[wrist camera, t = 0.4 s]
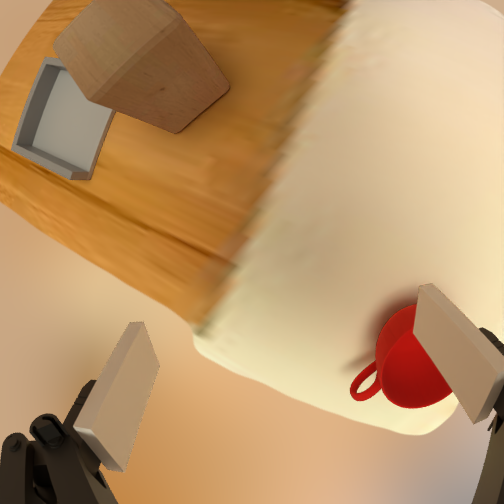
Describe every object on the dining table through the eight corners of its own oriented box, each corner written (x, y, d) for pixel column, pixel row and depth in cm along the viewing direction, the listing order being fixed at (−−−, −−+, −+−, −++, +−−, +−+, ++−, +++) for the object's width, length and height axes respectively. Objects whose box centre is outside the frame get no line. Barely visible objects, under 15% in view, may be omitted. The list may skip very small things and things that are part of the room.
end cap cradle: (63, 64, 38) (45, 56, 34) (130, 78, 38) (113, 68, 33) (30, 151, 42) (10, 149, 37) (90, 179, 42) (70, 179, 37)
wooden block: (176, 137, 39) (85, 105, 19) (138, 91, 38) (46, 45, 19) (234, 88, 36) (182, 14, 17) (191, 44, 36) (124, -32, 16)
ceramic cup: (324, 333, 41) (330, 372, 32) (428, 270, 38) (461, 293, 28) (361, 394, 42) (372, 437, 33) (454, 339, 39) (483, 372, 29)
